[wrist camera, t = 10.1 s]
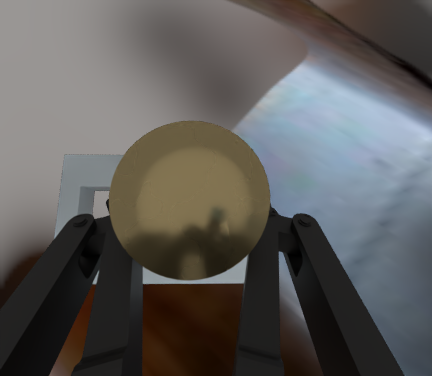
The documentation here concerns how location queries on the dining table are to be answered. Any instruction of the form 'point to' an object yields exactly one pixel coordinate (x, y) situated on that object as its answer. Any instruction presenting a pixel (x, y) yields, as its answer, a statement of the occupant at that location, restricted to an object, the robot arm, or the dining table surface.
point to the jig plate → (101, 181)
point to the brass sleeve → (189, 200)
